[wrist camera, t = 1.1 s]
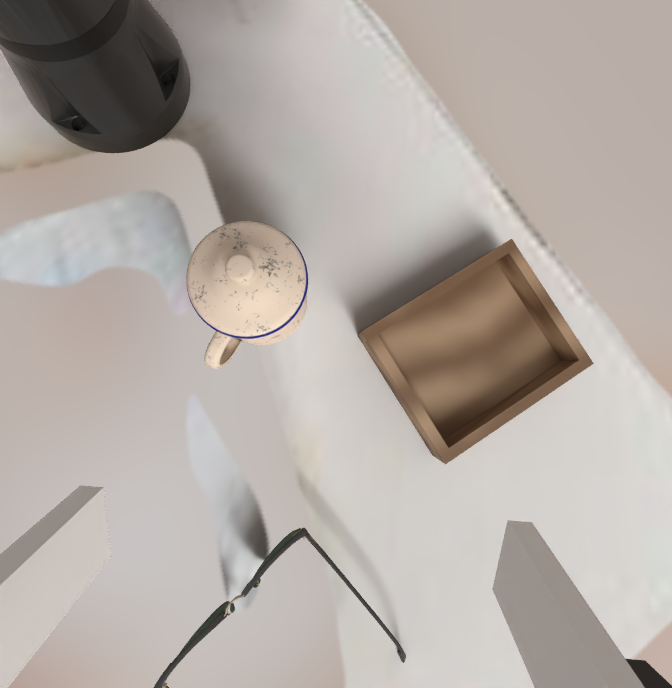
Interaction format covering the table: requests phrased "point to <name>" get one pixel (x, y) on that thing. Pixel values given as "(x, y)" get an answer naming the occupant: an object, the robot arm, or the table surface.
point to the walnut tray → (475, 351)
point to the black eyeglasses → (223, 609)
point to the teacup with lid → (247, 287)
